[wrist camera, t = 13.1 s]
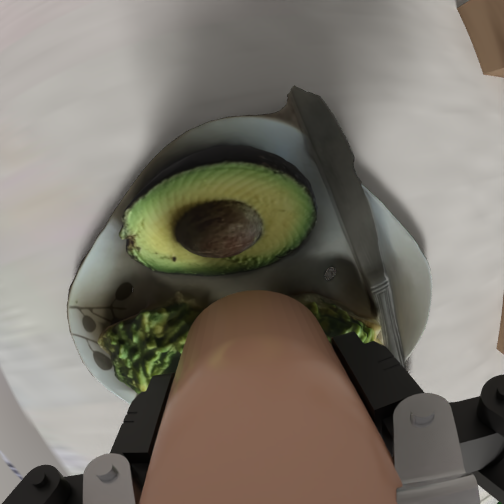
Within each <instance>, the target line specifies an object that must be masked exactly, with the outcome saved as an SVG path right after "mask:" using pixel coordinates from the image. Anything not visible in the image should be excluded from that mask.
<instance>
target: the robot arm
mask: <svg viewBox="0 0 504 504" xmlns="http://www.w3.org/2000/svg"><path fill="white" fill-rule="evenodd" d="M331 345H332V347H333V349H334V350H335V352H336V354H337V356H338V358H339V359H340V361H341V363H342V365H343V367H344V368H345V370H346V372H347V374H348V376H349V378H350V379H351V381H352V383H353V385H354V387H355V389H356V390H357V392H358V394H359V396H360V398H361V400H362V401H363V403H364V405H365V407H366V409H367V411H368V413H369V414H370V416H371V418H372V420H373V422H374V424H375V426H376V428H377V430H378V431H379V433H380V435H381V437H382V439H383V441H384V443H385V445H386V447H387V449H388V450H389V452H390V454H391V456H392V458H393V461H394V467H395V470H396V471H397V473H398V475H399V477H400V479H401V482H402V485H403V486H402V487H398V488H397V489H396V502H397V504H480V497H479V490H478V485H479V486H480V487H482V488H483V489H484V490H485V491H487V492H488V493H489V494H490V495H492V496H493V497H494V498H495V499H497V500H498V501H499V502H501V503H502V504H504V375H499V376H495V377H493V378H491V379H490V380H489V381H487V382H486V383H485V385H484V386H483V388H482V391H481V395H480V396H479V397H475V398H471V399H467V400H463V401H459V402H451V403H448V401H447V400H446V399H445V398H443V397H441V396H439V395H436V394H432V393H424V392H423V390H422V389H421V388H420V387H419V385H418V384H417V383H416V382H415V381H414V379H413V378H412V377H411V376H410V374H409V373H408V372H407V371H406V370H405V368H404V367H403V366H402V365H400V362H399V361H398V360H397V359H396V358H394V355H393V354H392V353H391V352H390V351H389V349H388V348H387V347H386V346H384V345H382V344H379V343H377V342H375V341H371V342H368V343H365V344H364V343H363V342H362V341H361V339H360V338H359V336H358V335H357V334H356V333H355V332H354V331H352V332H349V333H346V334H342V335H339V336H336V337H332V338H331ZM174 377H175V373H167V374H160V375H154V376H152V378H151V380H150V383H149V385H148V387H147V390H146V391H143V392H141V393H140V394H139V395H138V396H137V397H136V398H135V399H134V400H133V401H132V402H131V405H130V407H129V409H128V412H127V415H126V416H125V418H124V421H123V422H124V423H122V425H121V428H120V430H119V433H118V435H117V437H116V440H115V442H114V445H113V447H112V449H111V452H110V453H109V454H104V455H101V456H99V457H97V458H95V459H94V460H92V461H91V462H90V463H89V464H88V465H87V467H86V469H85V471H84V474H80V475H74V476H68V477H63V476H62V474H61V473H60V472H59V471H58V470H57V469H56V468H55V467H53V466H51V465H41V466H38V467H36V468H34V469H32V470H31V471H30V472H29V473H28V474H27V475H26V476H25V477H24V478H23V480H22V481H21V482H20V483H19V484H18V485H17V487H16V488H15V489H14V490H13V491H12V493H11V494H10V495H9V496H8V497H7V498H6V499H5V501H4V502H3V503H2V504H139V502H140V498H141V494H142V490H143V486H144V483H145V479H146V475H147V471H148V467H149V464H150V460H151V456H152V453H153V449H154V445H155V442H156V438H157V435H158V431H159V428H160V424H161V421H162V417H163V414H164V410H165V407H166V403H167V400H168V397H169V393H170V390H171V387H172V383H173V380H174ZM477 484H478V485H477Z"/></svg>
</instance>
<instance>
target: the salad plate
mask: <svg viewBox="0 0 504 504" xmlns="http://www.w3.org/2000/svg"><path fill="white" fill-rule="evenodd" d="M287 97H288V99H287V104H286V106H285V107H284V108H282V109H281V110H280V111H278V112H276V113H271V114H263V115H246V116H233V117H225V118H221V119H218V120H213V121H210V122H207V123H205V124H203V125H200V126H198V127H196V128H193V129H191V130H189V131H187V132H185V133H184V134H182V135H181V136H179V137H178V138H176V139H175V140H174V141H172V142H171V143H170V144H168V145H167V146H166V147H165V148H164V149H163V150H161V151H160V152H159V153H158V154H157V155H156V156H155V157H154V158H153V159H152V161H151V162H150V163H149V164H148V165H147V166H146V168H145V169H144V170H143V171H142V172H141V174H140V175H139V176H138V178H137V179H136V180H135V182H134V183H133V184H132V186H131V187H130V189H129V190H128V192H127V193H126V195H125V196H124V197H123V199H122V200H121V202H120V203H119V205H118V207H117V208H116V209H115V210H114V212H113V213H112V215H111V216H110V218H109V220H108V222H107V224H106V225H105V227H104V228H103V230H102V231H101V232H100V233H99V235H98V237H97V238H96V240H95V242H94V244H93V246H92V248H91V249H90V250H89V252H88V253H87V255H86V256H85V257H84V259H83V260H82V262H81V264H80V267H79V269H78V271H77V273H76V276H75V278H74V280H73V282H72V284H71V286H70V289H69V294H68V302H67V318H68V323H69V329H70V333H71V335H72V338H73V340H74V343H75V346H76V348H77V351H78V353H79V355H80V357H81V359H82V362H83V363H84V364H85V366H86V367H87V369H88V370H89V372H90V373H91V374H92V376H93V377H94V378H96V379H97V380H98V381H99V382H100V383H101V384H102V385H103V386H104V387H105V388H107V389H108V390H109V391H110V392H112V393H113V394H115V395H116V396H117V397H119V398H120V399H122V400H123V401H125V402H126V403H128V404H129V405H131V402H132V401H133V400H134V399H135V398H136V397H137V396H138V395H139V394H140V393H141V392H143V391H146V390H147V387H148V385H149V383H150V380H151V378H152V376H154V375H160V374H167V373H176V370H177V367H178V364H179V360H180V357H181V354H182V351H183V348H184V344H185V341H186V338H187V335H188V332H189V330H190V328H191V326H192V324H193V322H194V321H195V319H196V318H197V317H198V316H199V315H200V313H201V312H202V311H203V310H204V309H206V308H207V307H208V306H209V305H211V304H212V303H214V302H216V301H217V300H219V299H221V298H223V297H226V296H228V295H231V294H234V293H238V292H243V291H251V290H264V291H272V292H277V293H280V294H284V295H287V296H289V297H291V298H293V299H295V300H297V301H298V302H300V303H301V304H303V305H304V306H305V307H307V308H308V309H309V310H310V311H311V312H312V313H313V315H314V316H315V317H316V319H317V320H318V322H319V324H320V325H321V327H322V329H323V331H324V332H325V334H326V336H327V338H328V340H329V341H330V343H331V338H332V337H336V336H339V335H342V334H346V333H349V332H352V331H354V332H355V333H356V334H357V335H358V336H359V338H360V339H361V341H362V342H363V343H364V344H365V343H368V342H371V341H375V342H377V343H379V344H382V345H384V346H386V347H387V348H388V349H389V351H390V352H391V353H392V354H393V355H394V358H396V359H397V360H398V361H399V362H400V365H402V366H403V367H404V368H405V370H406V366H405V363H406V360H407V358H408V357H409V356H410V354H411V353H412V351H413V350H414V348H415V347H416V345H417V344H418V342H419V340H420V338H421V336H422V334H423V332H424V330H425V327H426V324H427V321H428V316H429V311H430V305H431V297H432V276H431V270H430V267H429V263H428V261H427V259H426V258H425V256H424V255H423V253H422V251H421V250H420V248H419V246H418V244H417V243H416V241H415V240H414V239H413V237H412V236H411V235H410V234H409V232H408V231H407V230H406V229H405V228H404V227H403V226H402V225H401V223H400V222H399V221H398V220H397V219H396V218H395V217H394V216H393V215H392V213H391V212H390V211H389V210H388V209H387V208H386V207H385V206H384V204H383V203H382V202H381V201H380V200H379V199H378V198H377V197H375V196H374V195H373V194H372V193H371V192H370V191H369V190H368V189H367V188H366V187H364V186H363V185H362V184H361V181H360V179H359V178H358V177H357V175H356V173H355V170H354V166H353V162H354V155H353V153H352V151H351V148H350V146H349V143H348V141H347V139H346V137H345V135H344V133H343V131H342V130H341V127H340V126H339V124H338V122H337V120H336V118H335V117H334V115H333V114H332V112H331V110H330V109H329V107H328V106H327V105H326V103H325V102H324V101H323V99H322V98H321V97H320V96H318V95H315V94H313V93H310V92H306V91H304V90H302V89H300V88H298V87H296V86H293V87H292V89H291V91H290V93H289V94H288V95H287ZM331 266H332V267H334V268H335V269H336V275H335V277H334V278H333V280H330V281H327V280H326V279H325V276H324V274H325V271H326V269H328V268H329V267H331ZM132 287H133V292H132Z"/></svg>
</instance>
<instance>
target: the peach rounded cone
mask: <svg viewBox="0 0 504 504" xmlns="http://www.w3.org/2000/svg"><path fill="white" fill-rule="evenodd" d="M402 486H403V485H402V482H401V479H400V477H399V475H398V473H397V471H396V470H395V467H394V461H393V458H392V456H391V454H390V452H389V450H388V449H387V447H386V445H385V443H384V441H383V439H382V437H381V435H380V433H379V431H378V430H377V428H376V426H375V424H374V422H373V420H372V418H371V416H370V414H369V413H368V411H367V409H366V407H365V405H364V403H363V401H362V400H361V398H360V396H359V394H358V392H357V390H356V389H355V387H354V385H353V383H352V381H351V379H350V378H349V376H348V374H347V372H346V370H345V368H344V367H343V365H342V363H341V361H340V359H339V358H338V356H337V354H336V352H335V350H334V349H333V347H332V345H331V343H330V341H329V340H328V338H327V336H326V334H325V332H324V331H323V329H322V327H321V325H320V324H319V322H318V320H317V319H316V317H315V316H314V315H313V313H312V312H311V311H310V310H309V309H308V308H307V307H305V306H304V305H303V304H301V303H300V302H298V301H297V300H295V299H293V298H291V297H289V296H287V295H284V294H280V293H277V292H272V291H264V290H251V291H243V292H238V293H234V294H231V295H228V296H226V297H223V298H221V299H219V300H217V301H216V302H214V303H212V304H211V305H209V306H208V307H207V308H206V309H204V310H203V311H202V312H201V313H200V315H199V316H198V317H197V318H196V319H195V321H194V322H193V324H192V326H191V328H190V330H189V332H188V335H187V338H186V341H185V344H184V348H183V351H182V354H181V357H180V360H179V364H178V367H177V370H176V373H175V377H174V380H173V383H172V387H171V390H170V393H169V397H168V400H167V403H166V407H165V410H164V414H163V417H162V421H161V424H160V428H159V431H158V435H157V438H156V442H155V445H154V449H153V453H152V456H151V460H150V464H149V467H148V471H147V475H146V479H145V483H144V486H143V490H142V494H141V498H140V502H139V504H397V502H396V489H397V488H398V487H402Z"/></svg>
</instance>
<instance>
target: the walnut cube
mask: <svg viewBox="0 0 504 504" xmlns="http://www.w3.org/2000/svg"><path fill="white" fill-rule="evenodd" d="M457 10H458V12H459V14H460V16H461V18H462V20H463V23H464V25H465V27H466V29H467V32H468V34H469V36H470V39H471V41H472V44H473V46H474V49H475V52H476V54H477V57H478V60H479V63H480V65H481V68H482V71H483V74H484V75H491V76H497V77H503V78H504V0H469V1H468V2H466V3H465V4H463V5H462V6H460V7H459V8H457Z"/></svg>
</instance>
